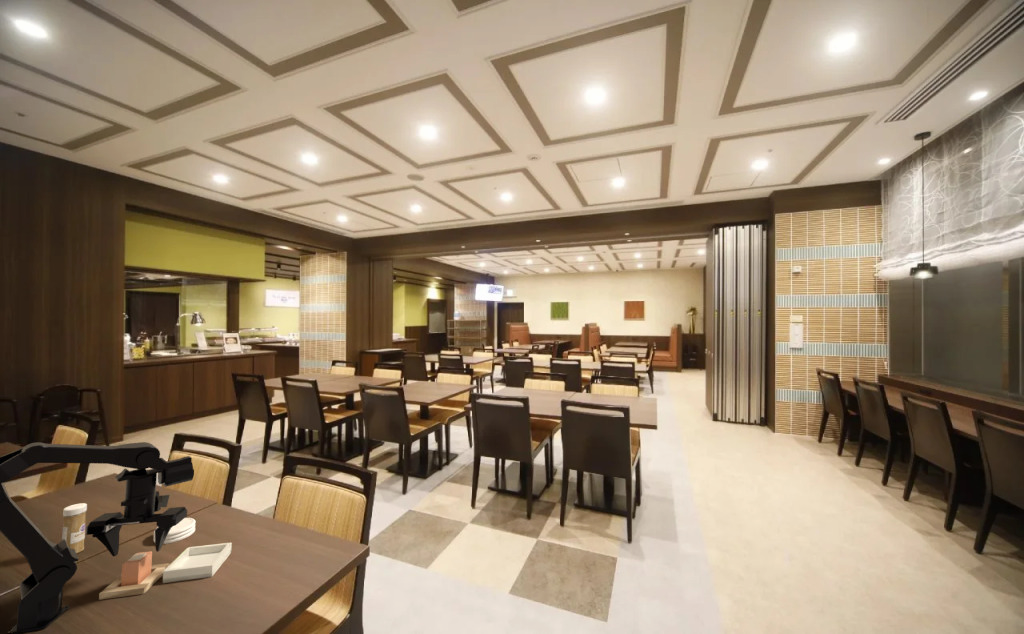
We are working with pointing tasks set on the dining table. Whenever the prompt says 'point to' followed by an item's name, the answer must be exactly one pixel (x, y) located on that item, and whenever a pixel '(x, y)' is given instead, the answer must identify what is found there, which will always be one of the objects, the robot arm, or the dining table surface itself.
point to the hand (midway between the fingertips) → (137, 553)
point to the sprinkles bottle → (74, 526)
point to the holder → (118, 591)
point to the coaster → (180, 531)
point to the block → (136, 569)
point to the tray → (197, 562)
